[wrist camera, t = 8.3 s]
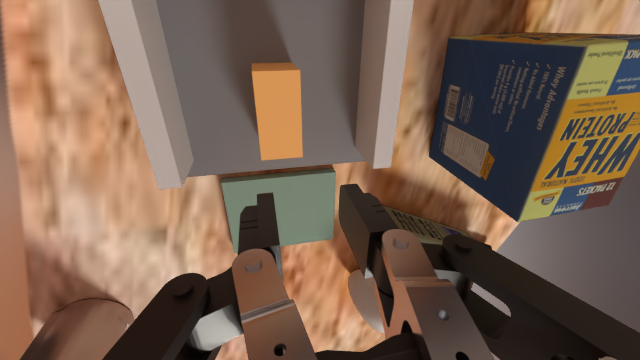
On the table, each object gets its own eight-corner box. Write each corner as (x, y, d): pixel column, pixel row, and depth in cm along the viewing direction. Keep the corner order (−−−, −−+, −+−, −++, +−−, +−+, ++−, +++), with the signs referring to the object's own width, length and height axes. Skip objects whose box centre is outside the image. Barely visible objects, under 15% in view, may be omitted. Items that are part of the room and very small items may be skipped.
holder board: (176, 175, 32) (159, 208, 26) (116, -41, 23) (68, -65, 17) (369, 157, 37) (392, 182, 31) (388, -29, 27) (426, -44, 21)
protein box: (525, 30, 33) (709, 32, 20) (492, 149, 41) (608, 208, 27) (446, 35, 31) (589, 41, 18) (427, 158, 39) (517, 226, 26)
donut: (336, 267, 45) (356, 322, 37) (352, 254, 45) (376, 308, 36) (368, 292, 50) (392, 347, 42) (383, 282, 50) (410, 334, 41)
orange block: (259, 138, 32) (261, 160, 27) (251, 63, 28) (251, 71, 23) (294, 136, 32) (302, 157, 27) (291, 62, 29) (300, 70, 23)
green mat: (235, 247, 39) (234, 252, 38) (222, 178, 34) (221, 183, 33) (331, 233, 42) (333, 238, 41) (333, 168, 36) (335, 172, 35)
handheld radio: (380, 200, 41) (490, 236, 50) (369, 217, 42) (478, 249, 52) (400, 230, 35) (519, 264, 45) (386, 248, 37) (505, 278, 46)
